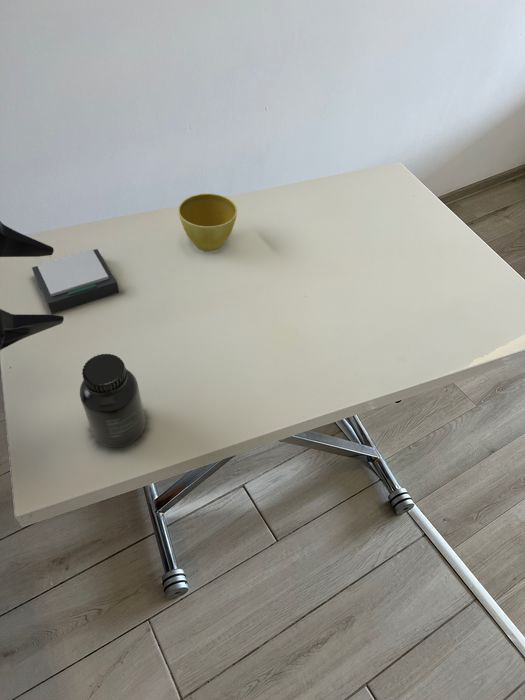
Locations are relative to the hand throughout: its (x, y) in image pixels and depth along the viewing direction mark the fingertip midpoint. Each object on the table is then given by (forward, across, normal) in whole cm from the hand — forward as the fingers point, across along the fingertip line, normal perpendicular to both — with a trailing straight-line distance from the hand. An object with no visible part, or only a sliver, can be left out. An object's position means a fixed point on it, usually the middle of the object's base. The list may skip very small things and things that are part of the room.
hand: (57, 284), depth 60 cm
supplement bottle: (+9, -13, +13) cm, 21 cm away
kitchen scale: (+10, +15, +22) cm, 29 cm away
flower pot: (+32, +21, +15) cm, 41 cm away
